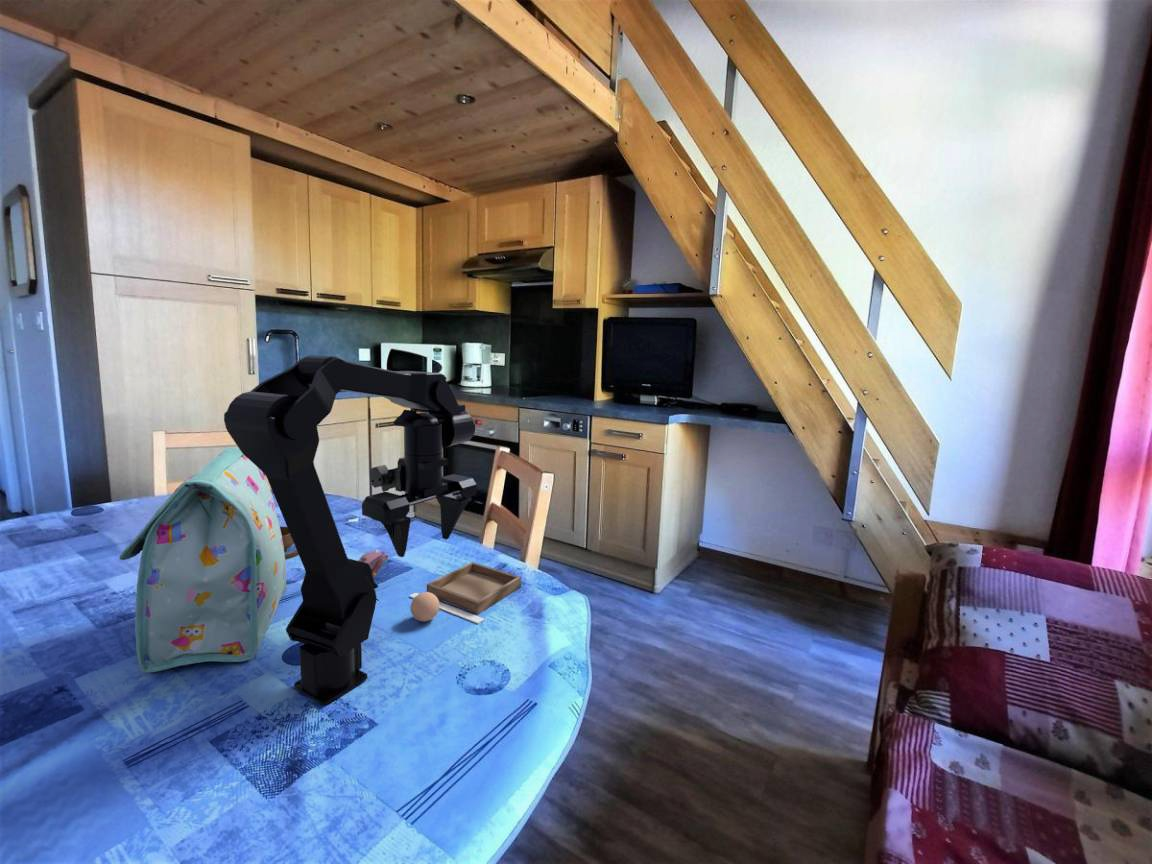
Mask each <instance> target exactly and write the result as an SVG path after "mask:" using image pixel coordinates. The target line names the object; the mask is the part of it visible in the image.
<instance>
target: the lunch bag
mask: <svg viewBox="0 0 1152 864" xmlns="http://www.w3.org/2000/svg"><path fill="white" fill-rule="evenodd" d="M273 496H274V495H273V492H272V489H271V487H270V484H269V481H268V479H267V477H266V476H265V474H264V473H263V472H262V471H261V470H260V469H259V468H258V467H257V466H256V465H255V464H254V463H253V462H251V461H250V460H249V459H248V458H247V457H246V456H245V455H244V454H243V453H242V452H241V450H240V449H239V448H237V447H233V446H230V447H226V448H225V449H224V450H223V451H222V452H221V453H219V454H218V455H217V456H216V457H215V458H213V459H212V460H211V461H209V462H208V463H207V464H206V465H205V466H203V467H202V468H201V469H200V470H198V471H197V472H196V473H195V474H193V475H191V476H190V477H188V478H187V479H186V480H184V481H183V482H182V483H181V484H180V485H178V487H176V489H175V490H174V491H173V492H172V493H171V495H170V496H169V497H168V498H167V499H166V500H165V501H164V502H163V504H162V505H160V507H159V508H158V509H157V510H156V511H155V513H154V514H153V516H151V518H150V519H149V521H148V522H147V523H146V525H145V526H144V527H143V528H142V529H141V530H140V532H139V533H138V534H137V535H136V536H135V538H134V539H132V541H131V542H130V543H129V544H128V545H127V546H126V547H125V549H123V551H122V552H121V553H120V554H119V557H118V558H119V560H121V561H126V560H129V559H132V558H134V557H136V556H138V555H139V554H140V553H141V554H140V559H139V560H140V561H139V568H138V575H137V583H136V591H135V592H136V594H135V595H136V596H135V599H136V600H135V615H134V616H135V618H134V629H135V631H134V633H135V643H136V644H135V645H136V646H135V647H136V648H135V650H136V651H135V652H136V658H137V664H138V666H139V667H140V669H141V672H142V673H156V672H161V671H165V670H169V669H172V668H177V667H181V666H187V665H192V664H199V663H205V662H221V663H222V662H223V663H240V662H246V661H250V660H252V659H254V658H255V656H256V655H257V652H258V651H259V649H260V646H261V644H262V642H263V639H264V637H265V635H266V633H267V630H268V629H269V626H270V624H271V623H272V620H273V618H274V615H275V613H276V612H277V609H278V607H279V603H280V601H281V599H282V597H283V595H284V593H285V592H286V590H287V564H286V563H287V562H286V559H285V554H286V552H284V547H283V540H282V535H281V530H280V527H281V526H280V521H279V518H278V513H277V511H276V510H277V509H276V505H275V501H274V497H273Z"/></svg>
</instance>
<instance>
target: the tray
mask: <svg viewBox="0 0 1152 864" xmlns="http://www.w3.org/2000/svg"><path fill="white" fill-rule="evenodd" d="M521 587H522V577H521V576H518V575H515V574H513V573H512V574H511V573H510V572H509V573H508V572H506V571H503V570H499V569H496V568H493V567H490V566H486V565H483V564H480V563H477V562H475V561H472V562H469V563H467V564H465V565H463V566H461V567H459V568H457V569H455V570H453V571H451V572H449V573H447V574H445V575H443V576H441V577H438V578H436V579H435V580H433V581H430V582H429V583H427V584H426V592H430V593H432V594H434V595H435V596H436V597H437V598H438V600H439V601H440V602H441V601H442V602H443V603H444V602H445V603H446V604H448V605H449V604H450V605H451V606H452V605H453V606H455V607H456V608H459V609H460V608H461V610H464V611H468V612H469V613H472V614H474V615H480V614H481V613H482V612H484V611H486V610H488V609H489V608H491V607H492V606H494V605H495V604H497V603H499V602H500V601H502V600H503V599H505V598H507V597H508V596H509V595H511V594H512V593H514V592H515V591H517V590H519V589H520V588H521ZM501 599H502V600H501Z"/></svg>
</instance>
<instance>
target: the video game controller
mask: <svg viewBox="0 0 1152 864" xmlns="http://www.w3.org/2000/svg"><path fill="white" fill-rule="evenodd" d="M388 559H389V554H387V553H386V552H384V551H383V550H382V551H381V550H380V551H379V550H378V548H376V549H375V551H370V552H366V553H364V554H362V556H360V557H359V559H358V560H357V561H361V562H365V563H368V564H369V566H370V568H371V570H372V576H373V578H375V577H376V576H377V573H378V572H379V571H380V570H381V568H383V566H384V565H385V564H386V562H387V560H388Z"/></svg>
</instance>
